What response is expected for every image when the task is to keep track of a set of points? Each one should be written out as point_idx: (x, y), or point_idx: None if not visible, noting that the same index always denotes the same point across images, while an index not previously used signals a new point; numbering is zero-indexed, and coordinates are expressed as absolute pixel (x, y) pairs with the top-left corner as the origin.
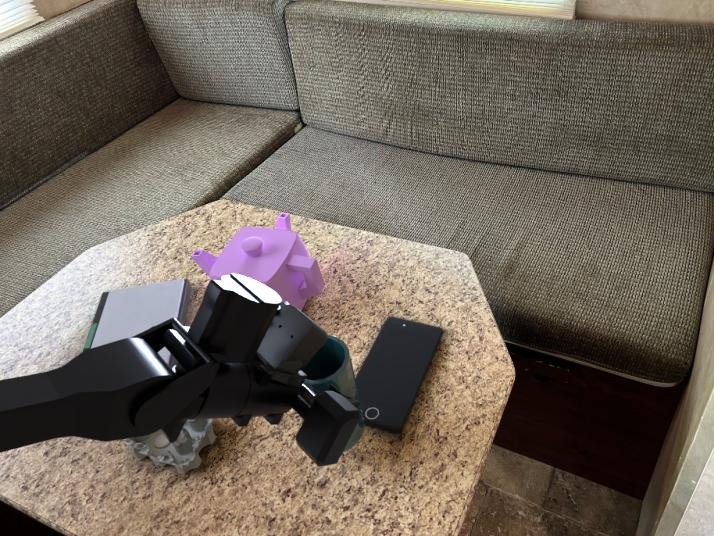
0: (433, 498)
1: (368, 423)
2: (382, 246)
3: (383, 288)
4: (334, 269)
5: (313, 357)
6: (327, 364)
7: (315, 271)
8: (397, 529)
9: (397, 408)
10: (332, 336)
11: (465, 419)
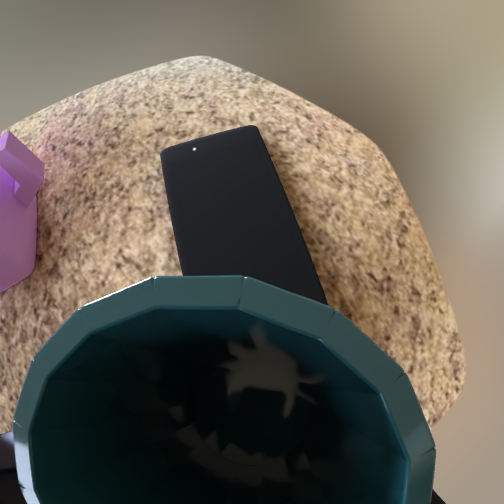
0: (434, 370)
1: None
2: (96, 90)
3: (126, 126)
4: (51, 146)
5: (117, 396)
6: (172, 362)
7: (17, 150)
8: None
9: (297, 284)
10: (146, 290)
11: (389, 234)
